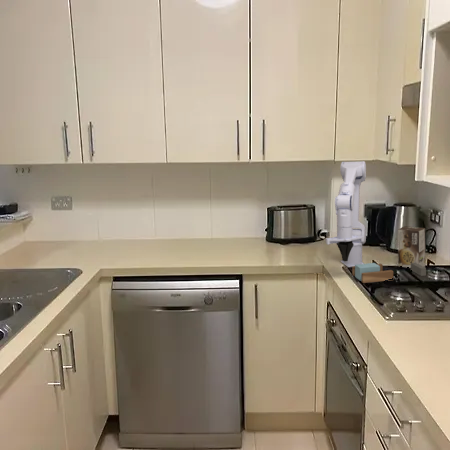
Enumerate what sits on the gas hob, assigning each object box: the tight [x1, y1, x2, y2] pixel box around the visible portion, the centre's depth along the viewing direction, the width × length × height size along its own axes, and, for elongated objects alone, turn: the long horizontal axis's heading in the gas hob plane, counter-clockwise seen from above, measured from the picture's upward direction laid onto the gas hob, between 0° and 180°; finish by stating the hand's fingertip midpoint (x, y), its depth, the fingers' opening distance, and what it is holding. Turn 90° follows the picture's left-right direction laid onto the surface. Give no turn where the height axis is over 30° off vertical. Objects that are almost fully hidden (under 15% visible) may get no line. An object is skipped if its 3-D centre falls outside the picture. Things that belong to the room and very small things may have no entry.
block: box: [354, 262, 380, 282], centre depth 185 cm, size 5×8×5 cm, turn 97°
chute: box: [351, 263, 394, 284], centre depth 185 cm, size 11×12×4 cm
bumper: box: [410, 263, 427, 277], centre depth 188 cm, size 8×2×3 cm, turn 7°
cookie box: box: [397, 225, 426, 269], centre depth 195 cm, size 9×6×16 cm
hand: (345, 260), depth 183 cm, fingers closed
